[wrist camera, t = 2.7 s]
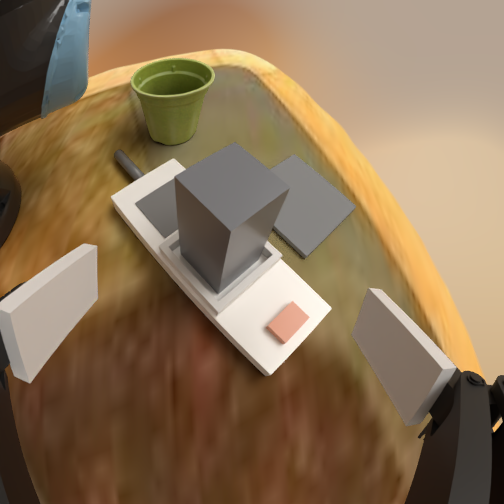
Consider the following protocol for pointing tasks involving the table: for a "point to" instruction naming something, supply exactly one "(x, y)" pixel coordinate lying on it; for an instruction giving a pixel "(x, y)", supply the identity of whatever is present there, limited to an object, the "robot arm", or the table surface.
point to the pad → (308, 206)
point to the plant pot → (172, 97)
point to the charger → (226, 213)
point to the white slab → (239, 291)
